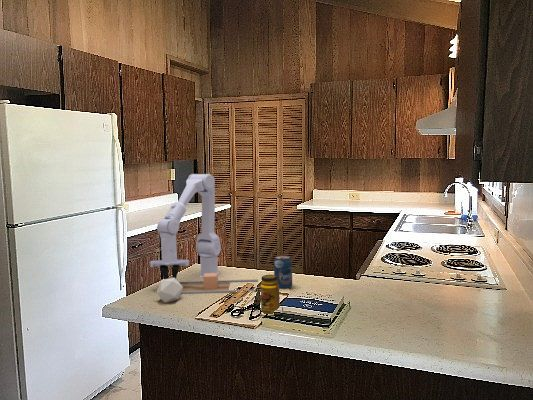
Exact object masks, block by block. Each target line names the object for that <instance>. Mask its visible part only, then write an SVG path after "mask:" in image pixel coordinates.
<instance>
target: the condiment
mask: <svg viewBox="0 0 533 400" xmlns="http://www.w3.org/2000/svg"><path fill="white" fill-rule="evenodd" d="M280 300H281V299H280V289H279V284H278V277H277V276H276V275H274V274H264V275H262V276H261V283H260V310H261V311H262V312H263V313H264V314H273V313H274V311H275V310H277V309H278V308H279V307H280V306H281V305H280Z"/></svg>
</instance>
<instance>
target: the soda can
mask: <svg viewBox="0 0 533 400" xmlns="http://www.w3.org/2000/svg"><path fill="white" fill-rule="evenodd" d="M273 275H276V276H277V277H278V284H279V290H284V289H286V290H287V289H289V290H290V289H291V288H292V286H293V260H292V259H291V256H290V255H277V256H275V258H274V260H273Z"/></svg>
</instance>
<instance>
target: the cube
mask: <svg viewBox="0 0 533 400" xmlns="http://www.w3.org/2000/svg"><path fill="white" fill-rule="evenodd" d="M218 280H219V275H218V273H205V274H204V276H203V277H202V281H203V284H204V289H217V287H218Z"/></svg>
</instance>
